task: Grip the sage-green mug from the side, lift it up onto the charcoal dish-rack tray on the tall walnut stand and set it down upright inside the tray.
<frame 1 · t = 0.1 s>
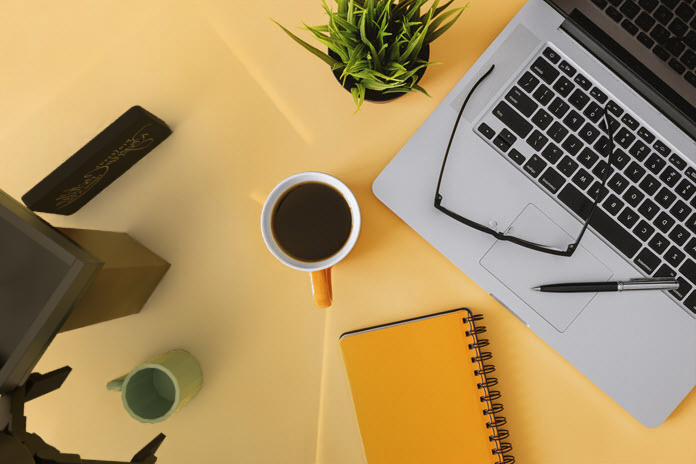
hand: (110, 409, 56), 18 cm above the table, tool pointing down, fingers open, 13 cm apart
tray: (5, 282, 49), resting on stand
mug: (177, 376, 74), on the table
nameplate: (119, 169, 76), on the table
stand: (131, 272, 75), on the table
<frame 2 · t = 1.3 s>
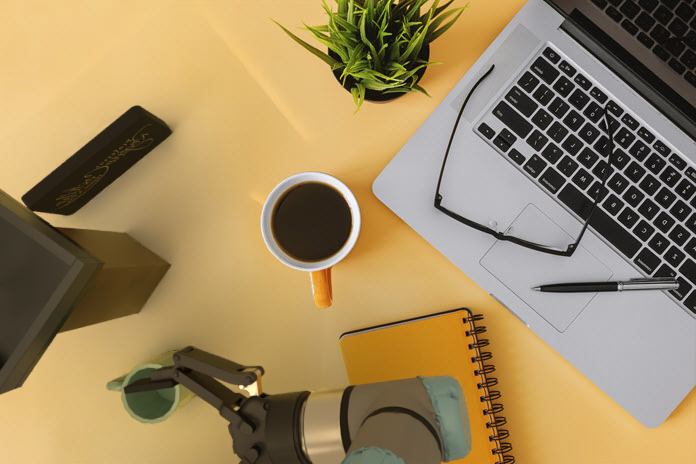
hand: (145, 443, 56), 18 cm above the table, tool tilted 75°, fingers open, 13 cm apart
nothing on the table moved.
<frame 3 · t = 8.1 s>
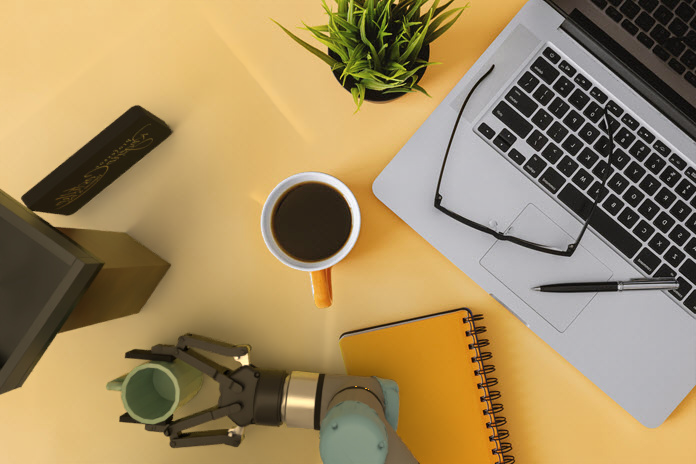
hand: (127, 384, 68), 6 cm above the table, tool horizontal, fingers closed on mug, 8 cm apart
mug: (177, 376, 74), on the table, touching gripper
everything else where it was.
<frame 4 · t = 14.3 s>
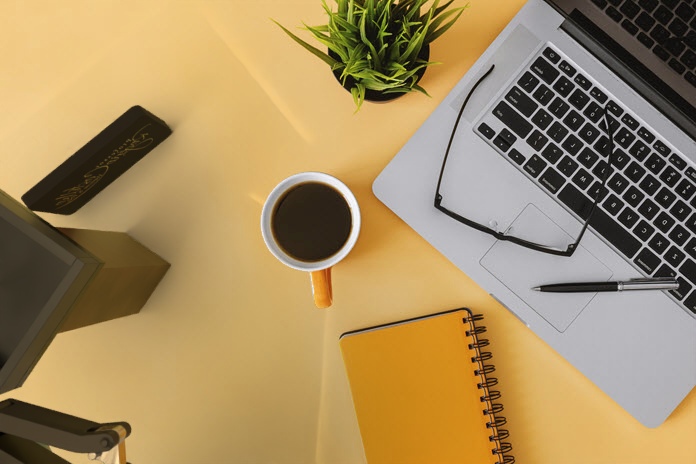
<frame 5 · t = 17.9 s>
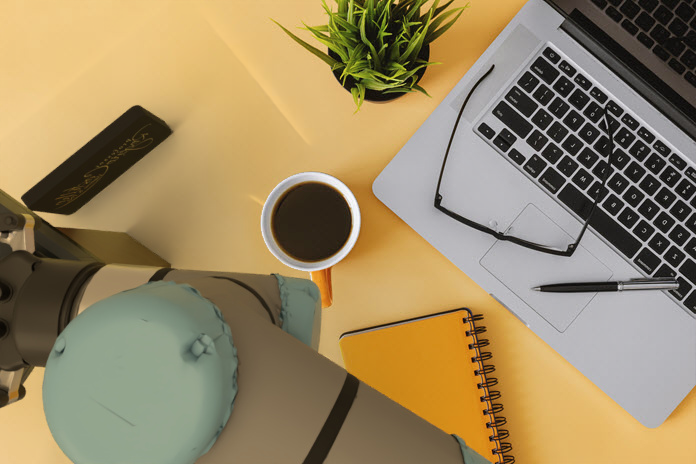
when the fingers open (33 cm above the table, at t = 20.8 s): mug stays where it is, resting on tray.
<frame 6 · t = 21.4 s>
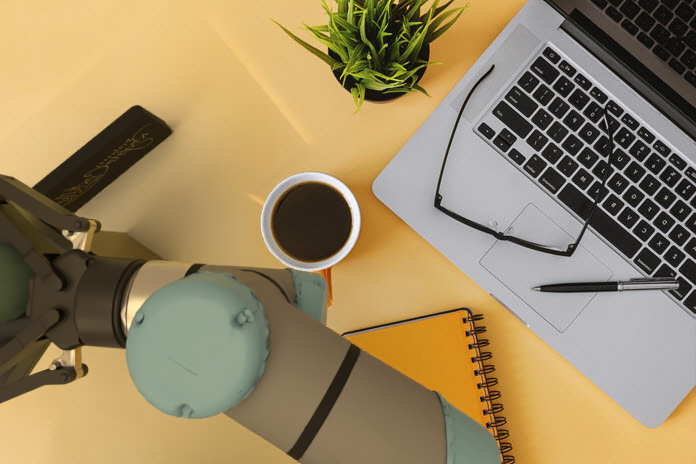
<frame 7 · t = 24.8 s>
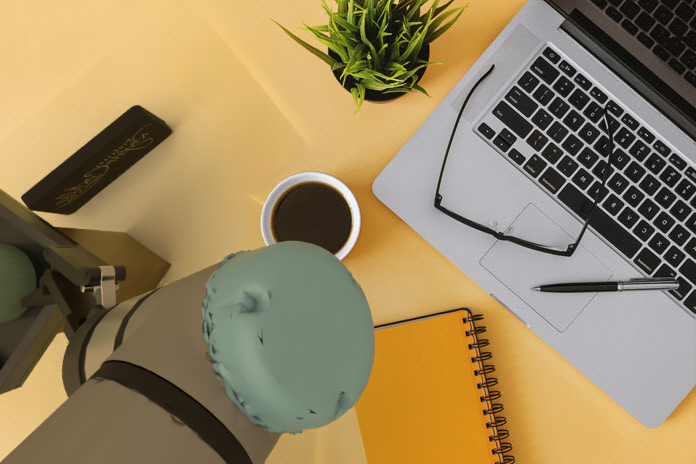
hand: (44, 379, 43), 32 cm above the table, tool tilted 50°, fingers open, 13 cm apart
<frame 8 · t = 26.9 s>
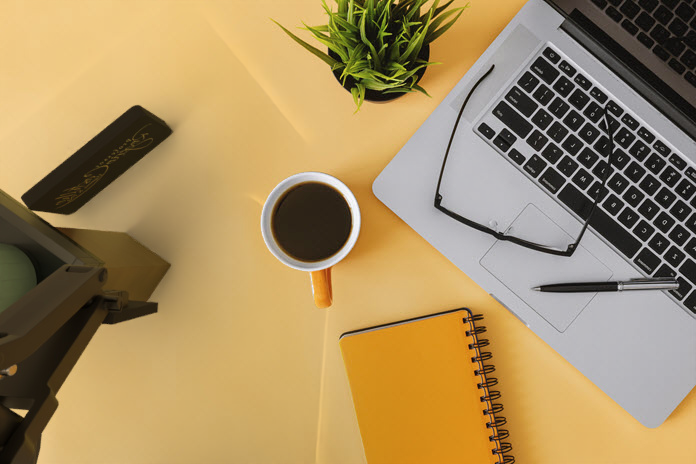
hand: (133, 394, 37), 37 cm above the table, tool pointing down, fingers open, 13 cm apart
at the end: mug inside the target area on the tray (0.0 cm from its centre), point 1.0 cm above the tray's base; mug tilted 0°; the gripper is holding nothing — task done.
